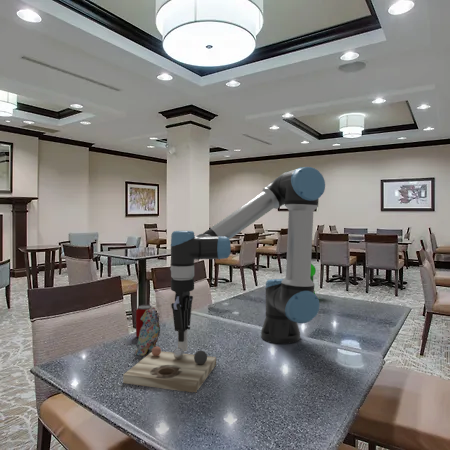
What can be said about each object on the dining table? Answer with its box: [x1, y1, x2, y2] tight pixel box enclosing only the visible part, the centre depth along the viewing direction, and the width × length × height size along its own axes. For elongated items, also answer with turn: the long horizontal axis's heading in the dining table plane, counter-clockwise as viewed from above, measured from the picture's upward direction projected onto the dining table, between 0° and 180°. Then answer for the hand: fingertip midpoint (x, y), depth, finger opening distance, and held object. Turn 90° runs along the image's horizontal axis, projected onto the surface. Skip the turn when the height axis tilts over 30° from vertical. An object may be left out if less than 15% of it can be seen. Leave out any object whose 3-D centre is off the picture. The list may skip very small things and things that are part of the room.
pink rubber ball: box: [152, 345, 162, 356], centre depth 116 cm, size 3×3×3 cm
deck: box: [122, 350, 217, 394], centre depth 108 cm, size 19×22×2 cm
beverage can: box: [135, 304, 153, 338], centre depth 142 cm, size 7×7×12 cm
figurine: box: [135, 306, 161, 357], centre depth 127 cm, size 9×9×15 cm
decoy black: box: [193, 350, 208, 365], centre depth 109 cm, size 4×4×4 cm
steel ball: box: [173, 347, 185, 359], centre depth 113 cm, size 3×3×3 cm
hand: (182, 350), depth 117 cm, fingers closed
